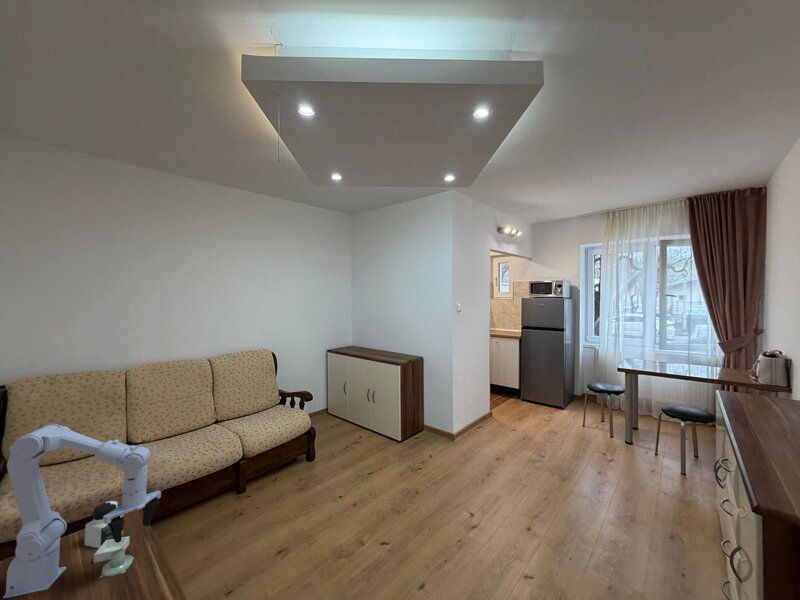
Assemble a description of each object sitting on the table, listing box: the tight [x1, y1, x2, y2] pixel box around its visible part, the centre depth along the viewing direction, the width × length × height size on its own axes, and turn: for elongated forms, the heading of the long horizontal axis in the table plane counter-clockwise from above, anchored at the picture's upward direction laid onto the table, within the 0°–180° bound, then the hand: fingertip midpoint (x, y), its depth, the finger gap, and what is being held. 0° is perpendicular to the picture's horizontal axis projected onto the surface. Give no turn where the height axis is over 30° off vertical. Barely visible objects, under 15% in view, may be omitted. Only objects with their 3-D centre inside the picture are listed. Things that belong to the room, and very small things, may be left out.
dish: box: [93, 536, 130, 564], centre depth 101 cm, size 6×6×3 cm
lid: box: [101, 549, 134, 578], centre depth 96 cm, size 7×7×4 cm
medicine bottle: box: [84, 500, 125, 549], centre depth 108 cm, size 7×7×12 cm
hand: (132, 533), depth 98 cm, fingers open, 7 cm apart
